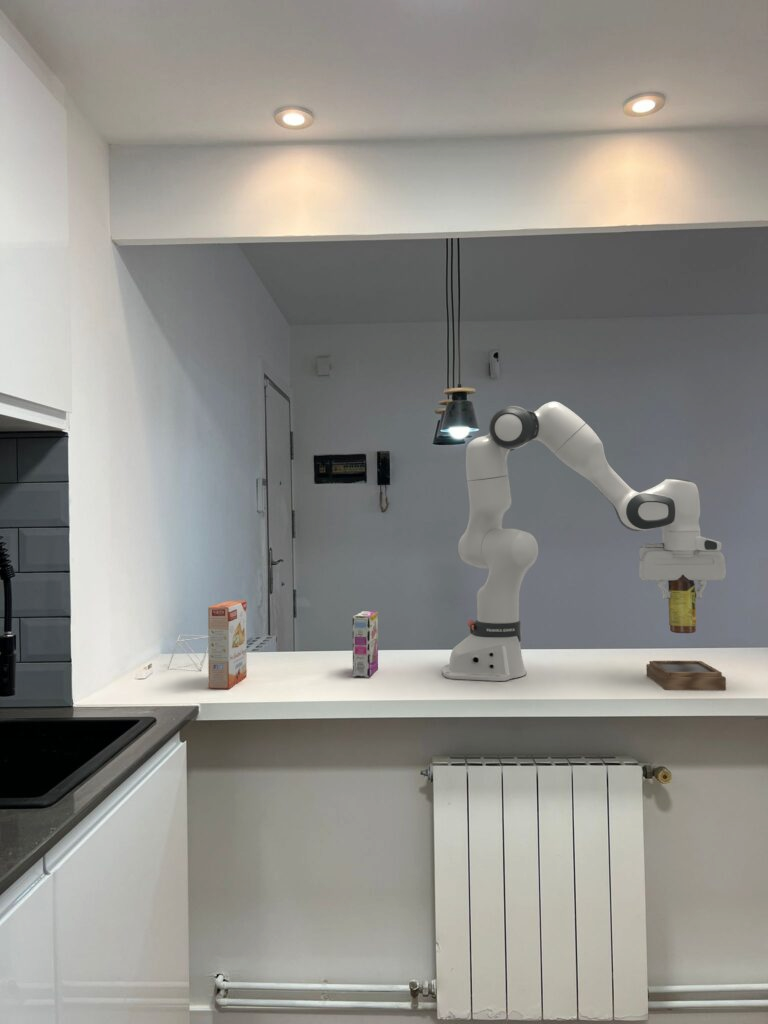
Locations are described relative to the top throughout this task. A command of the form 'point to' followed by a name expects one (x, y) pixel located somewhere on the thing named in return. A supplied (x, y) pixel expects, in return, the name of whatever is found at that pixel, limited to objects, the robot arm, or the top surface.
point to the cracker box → (227, 644)
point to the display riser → (685, 675)
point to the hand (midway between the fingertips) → (682, 598)
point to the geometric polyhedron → (187, 654)
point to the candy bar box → (365, 644)
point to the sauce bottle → (682, 605)
